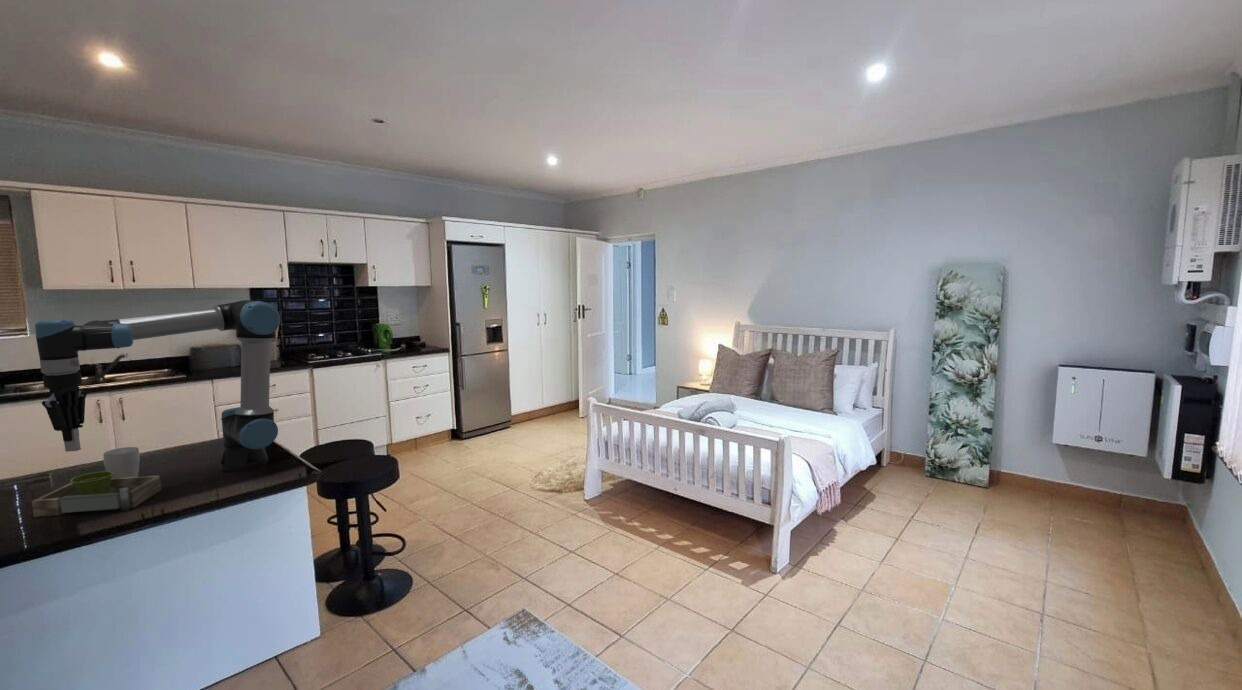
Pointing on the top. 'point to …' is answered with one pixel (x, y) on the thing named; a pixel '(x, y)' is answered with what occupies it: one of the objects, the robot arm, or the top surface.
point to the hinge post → (124, 498)
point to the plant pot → (92, 483)
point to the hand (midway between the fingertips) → (73, 450)
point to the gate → (90, 502)
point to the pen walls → (137, 489)
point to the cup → (122, 462)
